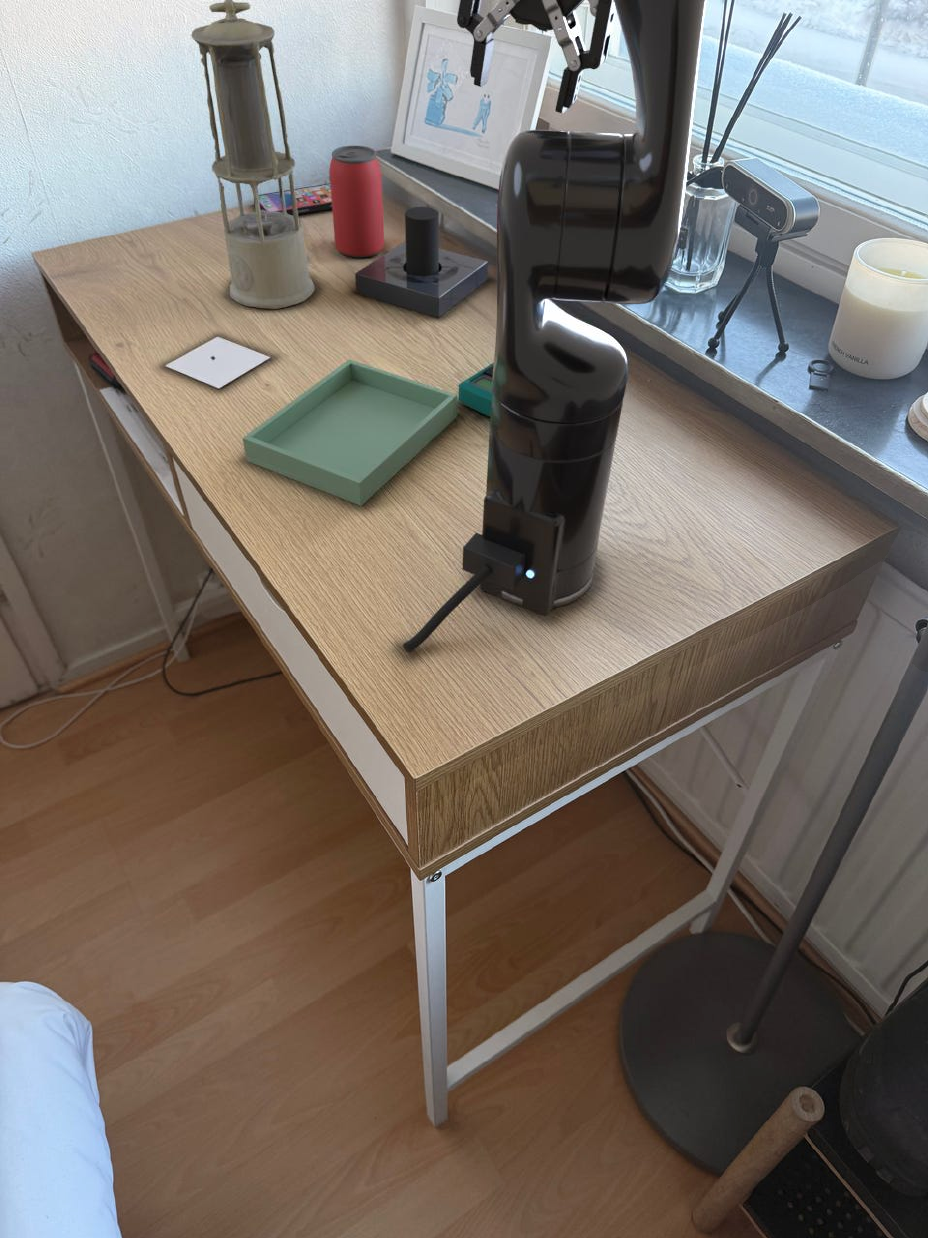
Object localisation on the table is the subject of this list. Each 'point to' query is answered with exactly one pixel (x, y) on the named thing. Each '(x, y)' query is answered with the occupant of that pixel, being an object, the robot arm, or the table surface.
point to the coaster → (217, 362)
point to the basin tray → (351, 430)
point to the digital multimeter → (478, 391)
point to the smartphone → (299, 200)
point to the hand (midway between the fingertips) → (520, 97)
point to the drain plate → (421, 281)
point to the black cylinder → (422, 241)
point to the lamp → (252, 164)
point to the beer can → (357, 201)
